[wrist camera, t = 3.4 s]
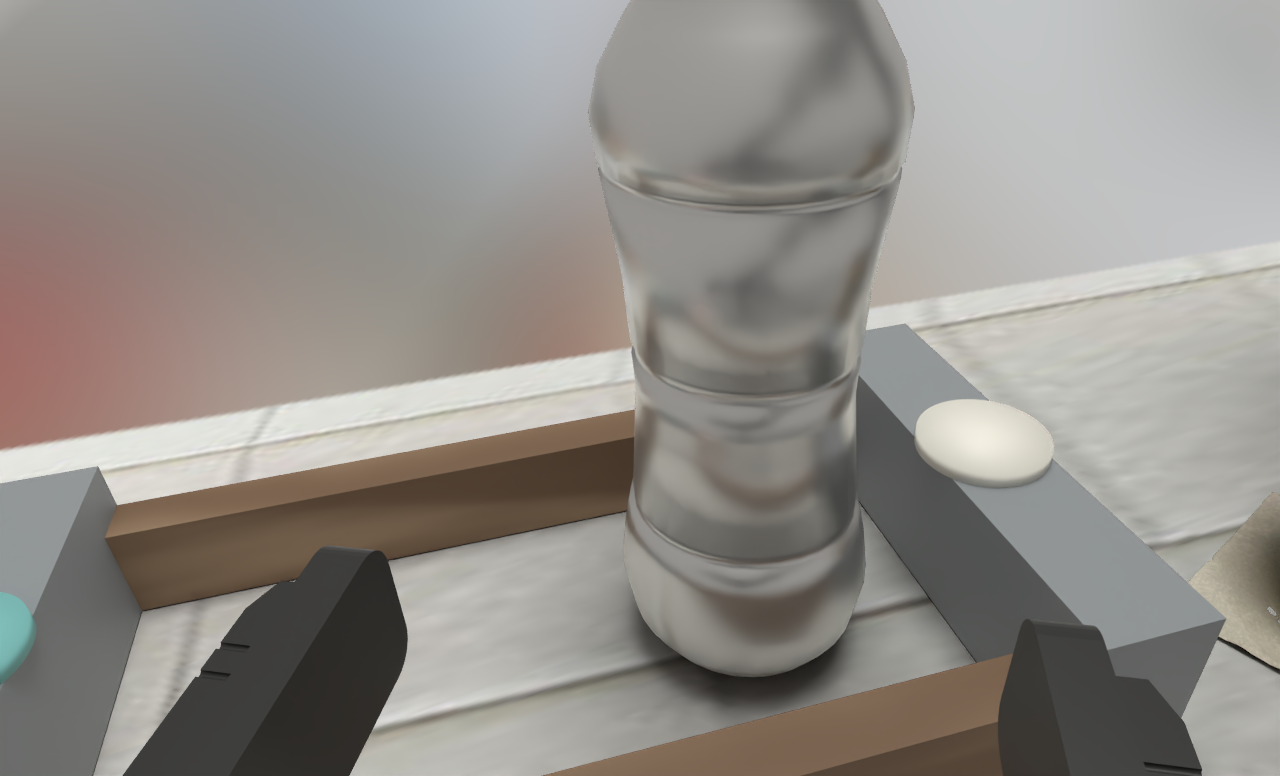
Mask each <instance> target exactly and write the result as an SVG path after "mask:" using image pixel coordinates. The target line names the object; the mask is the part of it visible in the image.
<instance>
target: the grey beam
mask: <svg viewBox="0 0 1280 776" xmlns="http://www.w3.org/2000/svg"><path fill="white" fill-rule="evenodd" d="M860 354H861V363H860V370H859V376H858V382H857V389H856V489H857V495H858V500H859V502H860V503H861V504H862V506H863V507H864V508H865V510H866V511H867V513H868V514H869V515H870V517H871V518H872V519H873V521H874V522H875V524H876V525H877V526H878V528H879V529H880V530H881V532H882V533H883V535H884V536H885V537H886V539H887V540H888V541H889V543H890V544H891V545H892V547H893V548H894V550H895V551H896V552H897V554H898V555H899V556H900V558H901V559H902V561H903V562H904V563H905V565H906V566H907V567H908V569H909V570H910V571H911V573H912V574H913V576H914V577H915V578H916V580H917V581H918V582H919V584H920V585H921V587H922V588H923V589H924V591H925V592H926V593H927V595H928V596H929V598H930V599H931V600H932V602H933V603H934V604H935V606H936V607H937V608H938V610H939V611H940V613H941V614H942V615H943V617H944V618H945V619H946V621H947V622H948V624H949V625H950V626H951V628H952V629H953V630H954V632H955V633H956V635H957V636H958V637H959V639H960V640H961V641H962V643H963V644H964V645H965V647H966V648H967V650H968V651H969V652H970V654H971V655H972V656H973V658H974V659H975V661H976V662H977V663H978V662H982V661H986V660H989V659H993V658H997V657H1001V656H1005V655H1009V654H1013V652H1014V649H1015V645H1016V642H1017V638H1018V634H1019V631H1020V628H1021V625H1022V623H1023V621H1024V620H1025V619H1035V620H1044V621H1054V622H1064V623H1074V624H1084V625H1093V626H1096V627H1097V628H1098V629H1099V630H1100V632H1101V634H1102V636H1103V639H1104V641H1105V644H1106V648H1107V651H1108V654H1109V657H1110V660H1111V663H1112V666H1113V669H1114V672H1115V676H1121V677H1130V678H1139V679H1148V680H1149V681H1150V682H1151V683H1152V685H1153V686H1154V687H1155V688H1156V689H1157V690H1158V692H1159V693H1160V694H1161V695H1162V696H1163V698H1164V699H1165V700H1166V701H1167V702H1168V704H1169V705H1170V706H1171V707H1172V708H1173V710H1174V711H1175V712H1176V713H1177V714H1178V715H1179V717H1180V718H1181V717H1182V715H1183V713H1184V710H1185V708H1186V706H1187V704H1188V702H1189V699H1190V697H1191V695H1192V693H1193V691H1194V689H1195V686H1196V684H1197V682H1198V680H1199V678H1200V675H1201V673H1202V671H1203V669H1204V667H1205V664H1206V662H1207V660H1208V658H1209V656H1210V654H1211V651H1212V649H1213V647H1214V645H1215V643H1216V640H1217V638H1218V636H1219V634H1220V632H1221V630H1222V627H1223V625H1224V623H1225V621H1226V619H1227V618H1226V617H1224V616H1223V615H1222V614H1221V613H1220V612H1219V611H1218V610H1217V609H1216V608H1215V607H1214V606H1212V605H1211V604H1210V603H1209V602H1208V601H1207V600H1206V599H1205V598H1204V597H1203V596H1202V595H1200V594H1199V593H1198V592H1197V591H1196V590H1195V589H1194V588H1193V587H1192V586H1191V585H1190V584H1188V583H1187V582H1186V581H1185V580H1184V579H1183V578H1182V577H1181V576H1180V575H1179V574H1178V573H1176V572H1175V571H1174V570H1173V569H1172V568H1171V567H1170V566H1169V565H1168V564H1167V563H1166V562H1165V561H1163V560H1162V559H1161V558H1160V557H1159V556H1158V555H1157V554H1156V553H1155V552H1154V551H1153V550H1151V549H1150V548H1149V547H1148V546H1147V545H1146V544H1145V543H1144V542H1143V541H1142V540H1141V539H1139V538H1138V537H1137V536H1136V535H1135V534H1134V533H1133V532H1132V531H1131V530H1130V529H1129V528H1127V527H1126V526H1125V525H1124V524H1123V523H1122V522H1121V521H1120V520H1119V519H1118V518H1117V517H1115V516H1114V515H1113V514H1112V513H1111V512H1110V511H1109V510H1108V509H1107V508H1106V507H1105V506H1103V505H1102V504H1101V503H1100V502H1099V501H1098V500H1097V499H1096V498H1095V497H1094V496H1093V495H1091V494H1090V493H1089V492H1088V491H1087V490H1086V489H1085V488H1084V487H1083V486H1082V485H1081V484H1079V483H1078V482H1077V481H1076V480H1075V479H1074V478H1073V477H1072V476H1071V475H1070V474H1069V473H1068V472H1066V471H1065V470H1064V469H1063V468H1062V467H1061V466H1060V465H1059V464H1058V463H1057V462H1056V461H1054V460H1053V459H1052V456H1053V452H1054V442H1053V439H1052V437H1051V435H1050V433H1049V432H1048V431H1047V429H1046V428H1045V427H1044V426H1043V425H1042V424H1041V423H1040V422H1038V421H1037V420H1036V419H1035V418H1033V417H1031V416H1030V415H1028V414H1026V413H1024V412H1023V411H1020V410H1018V409H1016V408H1013V407H1010V406H1008V405H1004V404H1001V403H997V402H992V401H989V400H988V399H987V398H986V397H985V396H984V395H982V394H981V393H980V392H979V391H978V390H977V389H976V388H975V387H974V386H973V385H972V384H971V383H969V382H968V381H967V380H966V379H965V378H964V377H963V376H962V375H961V374H960V373H959V372H957V371H956V370H955V369H954V368H953V367H952V366H951V365H950V364H949V363H948V362H947V361H945V360H944V359H943V358H942V357H941V356H940V355H939V354H938V353H937V352H936V351H935V350H933V349H932V348H931V347H930V346H929V345H928V344H927V343H926V342H925V341H924V340H923V339H921V338H920V337H919V336H918V335H917V334H916V333H915V332H914V331H913V330H912V329H911V328H909V327H908V326H907V325H906V324H900V325H895V326H889V327H884V328H878V329H872V330H867V331H865V337H864V344H863V349H862V351H861V352H860Z"/></svg>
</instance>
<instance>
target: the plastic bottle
mask: <svg viewBox="0 0 1280 776" xmlns="http://www.w3.org/2000/svg"><path fill="white" fill-rule="evenodd" d="M914 109H915V107H914V101H913V96H912V90H911V84H910V78H909V73H908V67H907V62H906V59H905V56H904V54H903V52H902V50H901V48H900V46H899V43H898V41H897V39H896V37H895V35H894V33H893V30H892V28H891V26H890V24H889V22H888V19H887V17H886V15H885V13H884V11H883V9H882V7H881V6H880V4H879V2H878V0H631V1H630V2H629V4H628V6H627V7H626V9H625V10H624V12H623V14H622V16H621V18H620V20H619V22H618V24H617V26H616V28H615V30H614V32H613V34H612V36H611V38H610V40H609V42H608V44H607V47H606V48H605V50H604V52H603V54H602V56H601V59H600V61H599V63H598V65H597V68H596V73H595V78H594V84H593V89H592V94H591V99H590V104H589V110H588V114H589V120H590V127H591V132H592V140H593V148H594V154H595V159H596V163H597V164H598V165H599V168H598V170H599V175H600V180H601V185H602V189H603V193H604V198H605V203H606V207H607V211H608V216H609V220H610V225H611V229H612V234H613V238H614V243H615V247H616V251H617V256H618V261H619V265H620V269H621V274H622V279H623V288H624V296H625V304H626V311H627V320H628V328H629V334H630V339H631V344H632V345H633V346H632V360H633V368H634V376H635V383H636V393H635V430H634V467H633V480H632V484H631V489H630V494H629V499H628V506H627V512H626V522H625V534H624V547H623V555H624V563H625V569H626V572H627V575H628V579H629V582H630V585H631V588H632V591H633V594H634V598H635V601H636V603H637V606H638V608H639V611H640V613H641V615H642V618H643V619H644V620H645V622H646V623H647V625H648V626H649V627H650V629H651V630H652V631H653V633H654V634H655V635H657V636H658V637H659V638H660V639H661V640H662V641H663V642H664V643H665V644H666V645H668V646H669V647H670V648H672V649H673V650H674V651H676V652H677V653H678V654H680V655H681V656H683V657H685V658H686V659H688V660H690V661H691V662H693V663H694V664H696V665H699V666H701V667H704V668H706V669H708V670H711V671H713V672H718V673H722V674H726V675H731V676H740V677H762V676H772V675H776V674H780V673H784V672H787V671H791V670H793V669H795V668H797V667H799V666H801V665H803V664H805V663H807V662H809V661H811V660H813V659H815V658H816V657H818V656H820V655H821V654H822V653H824V652H825V651H826V650H828V649H829V648H830V647H831V646H833V645H834V644H835V643H836V641H837V640H838V639H839V638H840V636H841V635H842V634H843V632H844V631H845V629H846V627H847V625H848V622H849V620H850V618H851V615H852V613H853V610H854V607H855V604H856V602H857V599H858V596H859V594H860V591H861V588H862V585H863V583H864V575H865V566H866V564H865V547H864V530H863V523H862V517H861V511H860V506H859V500H858V495H857V489H856V389H857V382H858V376H859V370H860V363H861V354H860V352H861V351H862V349H863V344H864V337H865V331H866V324H867V318H868V311H869V305H870V298H871V291H872V287H873V283H874V279H875V275H876V272H877V268H878V264H879V260H880V256H881V252H882V249H883V244H884V241H885V237H886V233H887V229H888V226H889V222H890V218H891V214H892V210H893V206H894V203H895V199H896V195H897V191H898V187H899V183H900V180H901V173H902V165H903V164H904V163H905V162H906V156H907V150H908V144H909V138H910V133H911V128H912V122H913V118H914Z"/></svg>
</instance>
